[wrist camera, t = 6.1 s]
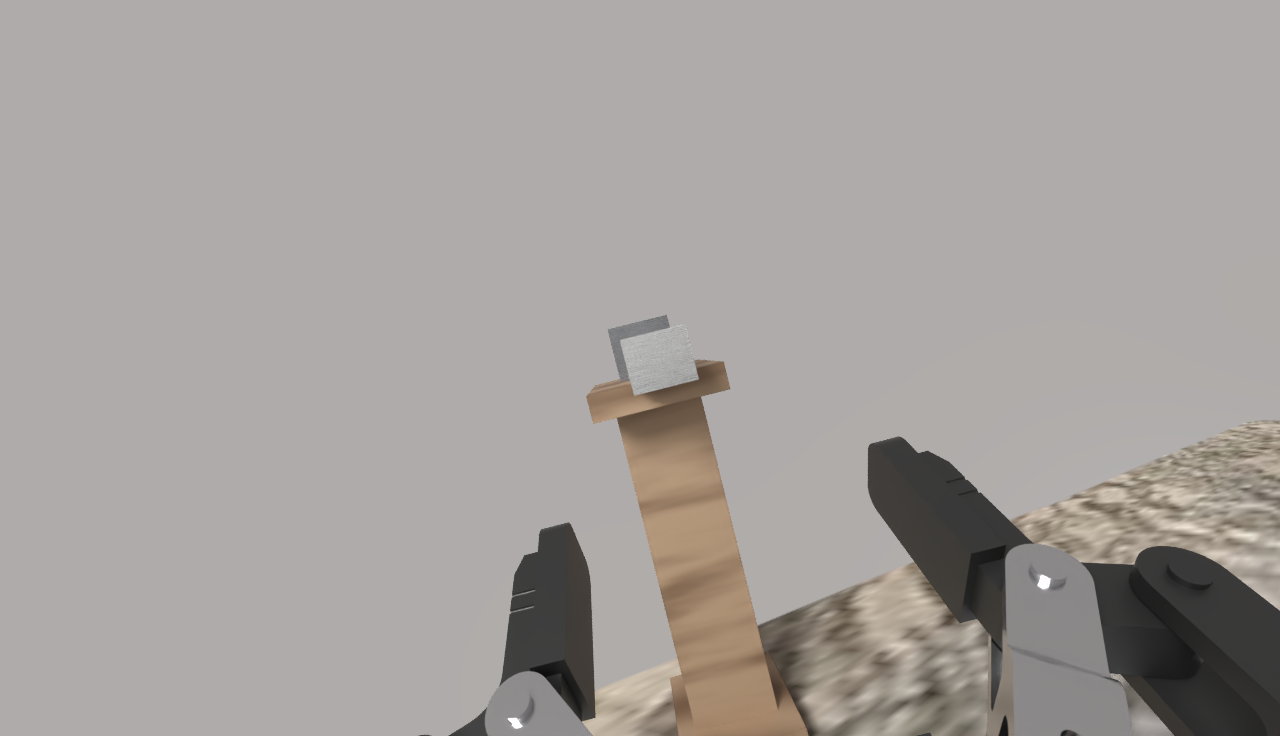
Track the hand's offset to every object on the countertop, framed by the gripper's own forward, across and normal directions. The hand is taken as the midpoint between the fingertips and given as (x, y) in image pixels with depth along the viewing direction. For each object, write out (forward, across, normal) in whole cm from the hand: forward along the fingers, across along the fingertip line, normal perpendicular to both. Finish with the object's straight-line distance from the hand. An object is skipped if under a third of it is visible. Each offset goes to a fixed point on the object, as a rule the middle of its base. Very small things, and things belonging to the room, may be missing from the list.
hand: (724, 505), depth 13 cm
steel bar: (+22, -1, -9) cm, 23 cm away
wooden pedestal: (+12, -1, -38) cm, 40 cm away
